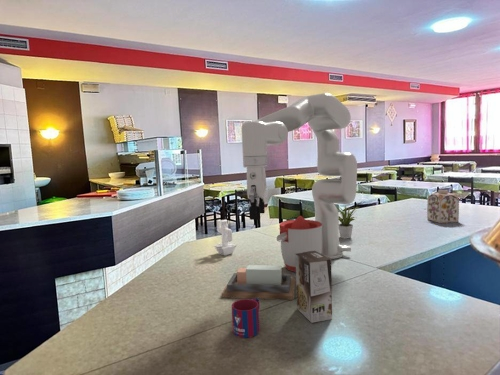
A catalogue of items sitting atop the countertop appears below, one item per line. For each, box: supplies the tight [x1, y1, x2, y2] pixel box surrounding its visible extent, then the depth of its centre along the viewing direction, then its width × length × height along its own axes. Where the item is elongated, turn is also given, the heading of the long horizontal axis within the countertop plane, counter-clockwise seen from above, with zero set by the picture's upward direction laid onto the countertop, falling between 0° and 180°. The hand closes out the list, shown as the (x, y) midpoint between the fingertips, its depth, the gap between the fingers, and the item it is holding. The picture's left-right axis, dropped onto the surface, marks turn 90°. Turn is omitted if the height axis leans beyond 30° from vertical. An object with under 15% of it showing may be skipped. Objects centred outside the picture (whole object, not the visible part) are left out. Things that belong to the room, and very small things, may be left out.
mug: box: [231, 298, 261, 339], centre depth 85 cm, size 7×10×7 cm
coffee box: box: [295, 251, 333, 324], centre depth 90 cm, size 9×6×16 cm
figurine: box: [213, 219, 237, 256], centre depth 148 cm, size 7×9×15 cm
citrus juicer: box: [276, 215, 322, 273], centre depth 125 cm, size 16×17×20 cm
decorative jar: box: [426, 189, 460, 224], centre depth 193 cm, size 12×12×18 cm
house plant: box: [336, 205, 360, 239], centre depth 167 cm, size 14×14×16 cm
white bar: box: [236, 264, 283, 285], centre depth 109 cm, size 14×4×6 cm, turn 80°
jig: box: [221, 272, 296, 301], centre depth 109 cm, size 22×14×3 cm, turn 80°
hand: (257, 216), depth 106 cm, fingers open, 9 cm apart
